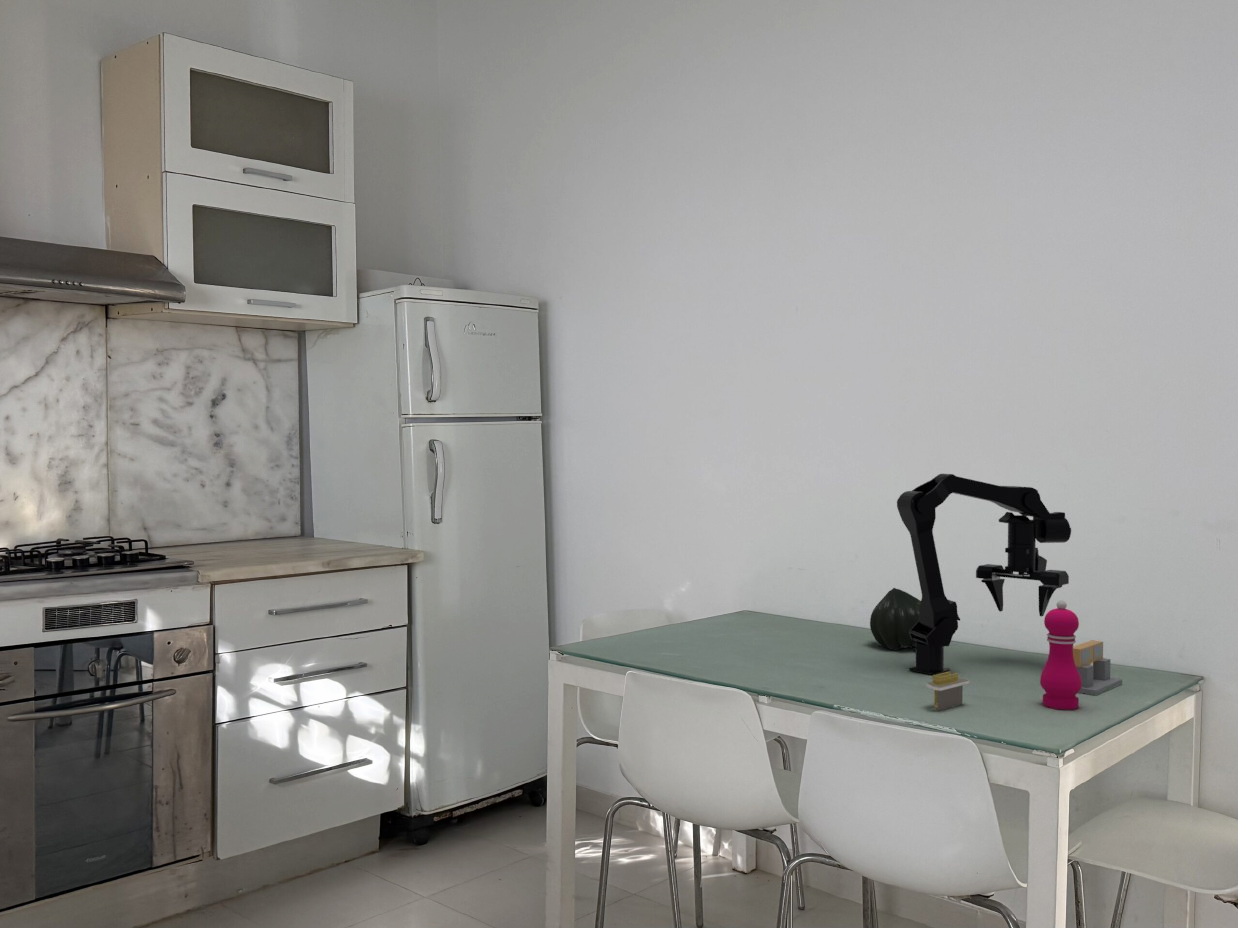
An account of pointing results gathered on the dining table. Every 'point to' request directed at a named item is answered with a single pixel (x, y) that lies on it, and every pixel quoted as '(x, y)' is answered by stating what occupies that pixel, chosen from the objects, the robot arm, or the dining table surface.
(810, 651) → the dining table surface
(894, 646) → the squash
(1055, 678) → the pepper mill
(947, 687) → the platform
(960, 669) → the dining table surface
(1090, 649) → the tan wooden bar
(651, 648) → the dining table surface
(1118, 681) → the display stand
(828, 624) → the dining table surface
